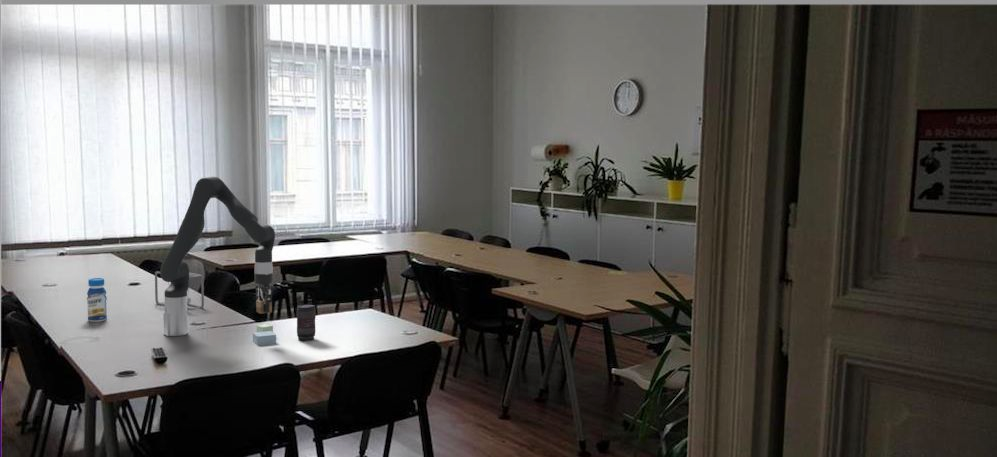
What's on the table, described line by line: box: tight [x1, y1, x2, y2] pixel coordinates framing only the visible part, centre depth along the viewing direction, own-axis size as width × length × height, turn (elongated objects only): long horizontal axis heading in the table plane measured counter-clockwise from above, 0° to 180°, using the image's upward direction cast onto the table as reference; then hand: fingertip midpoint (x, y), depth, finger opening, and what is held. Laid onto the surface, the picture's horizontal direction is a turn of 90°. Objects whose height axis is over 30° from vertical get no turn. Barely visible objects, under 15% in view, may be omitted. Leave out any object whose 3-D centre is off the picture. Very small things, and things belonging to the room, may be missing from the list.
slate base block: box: [252, 331, 277, 346], centre depth 342 cm, size 8×8×4 cm
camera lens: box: [296, 304, 317, 342], centre depth 348 cm, size 8×8×15 cm
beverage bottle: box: [86, 277, 108, 323], centre depth 378 cm, size 8×8×20 cm
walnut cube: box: [255, 299, 273, 315], centre depth 341 cm, size 5×5×5 cm
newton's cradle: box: [154, 270, 205, 311], centre depth 416 cm, size 30×10×18 cm, turn 52°
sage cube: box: [256, 323, 274, 333], centre depth 352 cm, size 5×5×5 cm
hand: (264, 311), depth 341 cm, fingers closed on walnut cube, 5 cm apart
